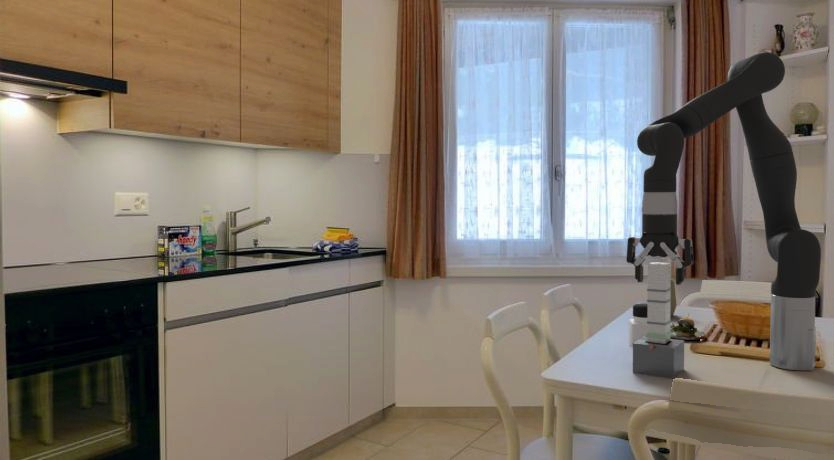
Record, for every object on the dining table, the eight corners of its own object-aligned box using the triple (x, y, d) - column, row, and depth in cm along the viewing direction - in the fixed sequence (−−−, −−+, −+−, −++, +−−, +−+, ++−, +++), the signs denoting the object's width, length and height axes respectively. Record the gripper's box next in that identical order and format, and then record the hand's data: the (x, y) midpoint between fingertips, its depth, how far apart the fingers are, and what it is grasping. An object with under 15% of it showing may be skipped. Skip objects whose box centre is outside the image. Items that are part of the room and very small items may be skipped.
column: (671, 340, 149) (671, 262, 148) (665, 344, 145) (666, 264, 144) (651, 338, 151) (652, 261, 150) (646, 341, 148) (646, 263, 147)
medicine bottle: (660, 351, 172) (660, 306, 171) (632, 350, 173) (632, 305, 173) (655, 344, 179) (656, 302, 178) (629, 344, 180) (629, 301, 180)
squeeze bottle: (646, 314, 223) (646, 262, 222) (665, 312, 225) (666, 261, 224) (661, 318, 215) (662, 265, 214) (681, 316, 218) (682, 263, 217)
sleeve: (703, 373, 150) (703, 339, 150) (686, 390, 137) (686, 353, 137) (634, 363, 160) (634, 331, 159) (612, 378, 147) (612, 344, 146)
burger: (653, 336, 191) (653, 311, 191) (686, 332, 195) (686, 308, 194) (681, 344, 180) (682, 318, 179) (715, 341, 183) (716, 315, 183)
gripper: (696, 212, 145) (696, 283, 146) (633, 211, 154) (633, 279, 155) (688, 213, 139) (687, 287, 140) (623, 212, 148) (622, 283, 149)
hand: (659, 283), depth 147 cm, fingers open, 8 cm apart
